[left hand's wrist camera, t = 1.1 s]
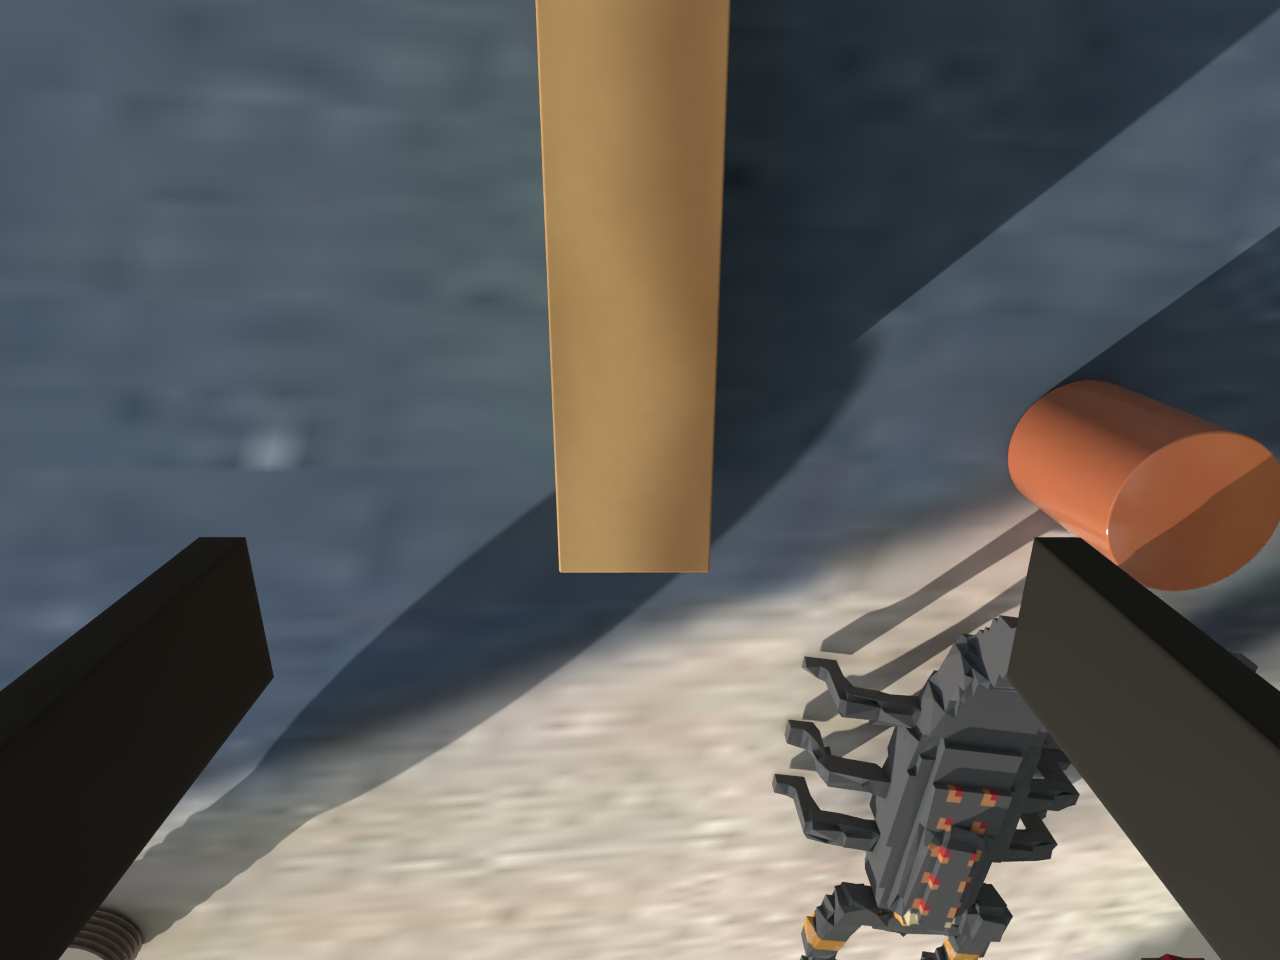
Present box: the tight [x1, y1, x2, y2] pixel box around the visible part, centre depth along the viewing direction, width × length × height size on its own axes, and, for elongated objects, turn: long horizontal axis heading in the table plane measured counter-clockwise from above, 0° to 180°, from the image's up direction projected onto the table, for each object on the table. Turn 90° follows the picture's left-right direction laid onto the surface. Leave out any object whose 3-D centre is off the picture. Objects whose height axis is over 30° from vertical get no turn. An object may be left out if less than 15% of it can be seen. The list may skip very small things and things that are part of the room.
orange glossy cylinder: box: [1008, 380, 1280, 591], centre depth 27 cm, size 6×6×7 cm
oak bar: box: [536, 0, 731, 572], centre depth 22 cm, size 4×26×9 cm, turn 0°
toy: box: [772, 615, 1258, 960], centre depth 27 cm, size 13×27×18 cm, turn 172°
